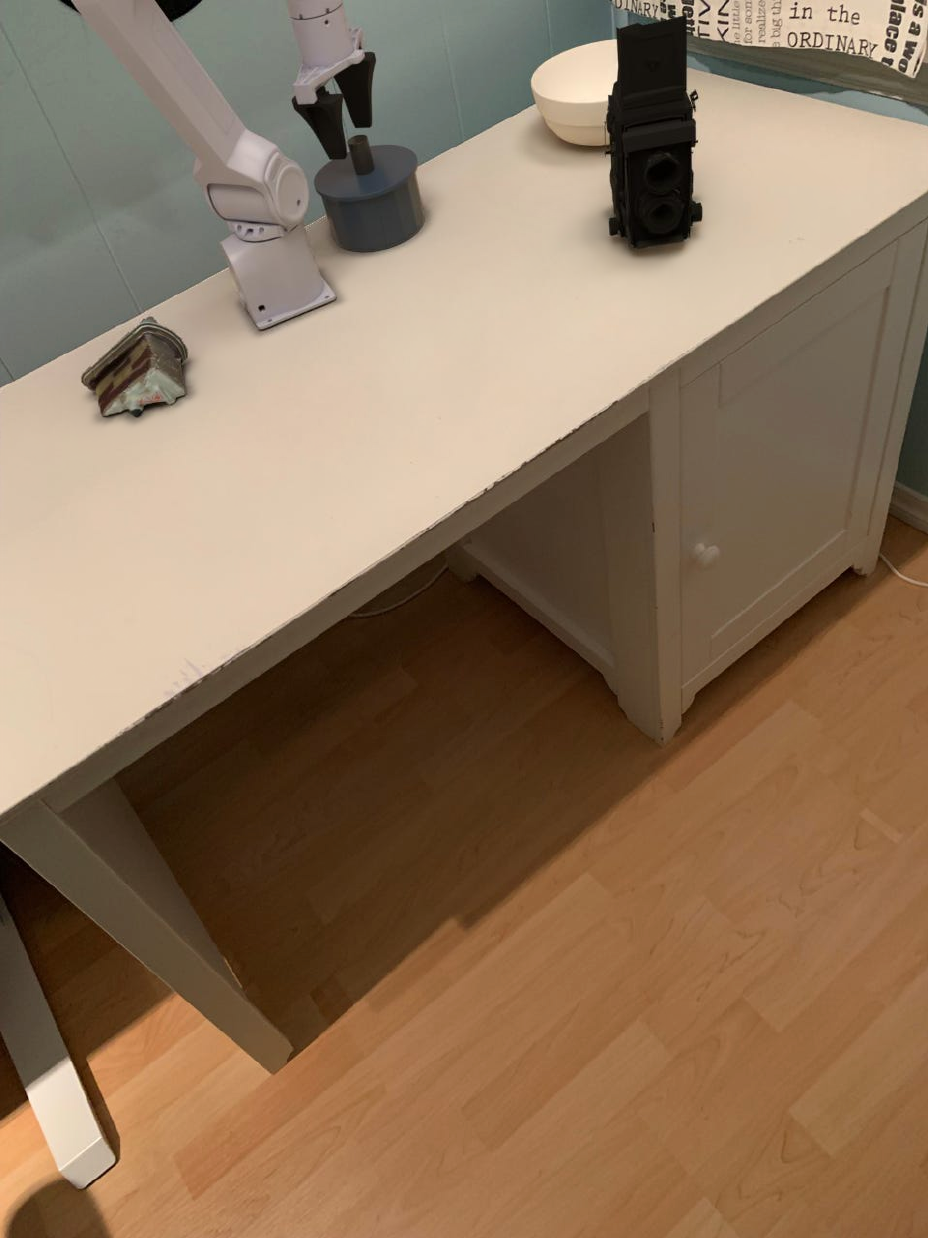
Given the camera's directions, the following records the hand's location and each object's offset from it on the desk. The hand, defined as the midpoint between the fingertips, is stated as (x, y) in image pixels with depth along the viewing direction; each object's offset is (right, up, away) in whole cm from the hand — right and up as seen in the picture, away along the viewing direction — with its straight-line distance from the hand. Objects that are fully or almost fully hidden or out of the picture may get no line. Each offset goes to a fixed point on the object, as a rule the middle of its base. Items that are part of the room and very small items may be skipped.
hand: (351, 141), depth 103 cm
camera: (+34, -13, -6) cm, 37 cm away
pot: (+3, -8, +5) cm, 10 cm away
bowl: (+32, +7, +11) cm, 34 cm away
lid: (+2, -4, 0) cm, 4 cm away
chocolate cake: (-21, -32, -9) cm, 40 cm away
